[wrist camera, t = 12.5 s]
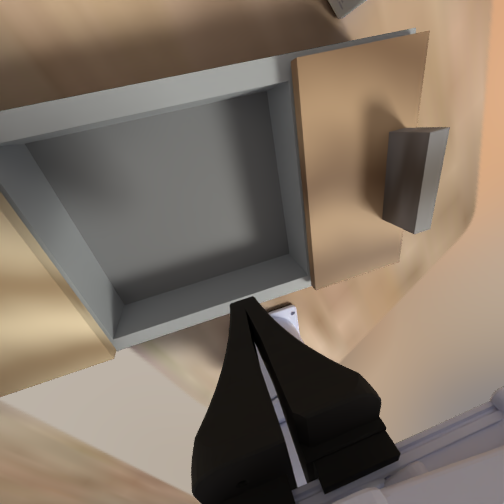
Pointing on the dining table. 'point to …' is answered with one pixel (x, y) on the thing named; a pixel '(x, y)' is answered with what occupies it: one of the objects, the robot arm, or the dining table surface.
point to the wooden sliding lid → (364, 154)
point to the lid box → (167, 193)
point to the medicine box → (344, 6)
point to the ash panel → (40, 314)
